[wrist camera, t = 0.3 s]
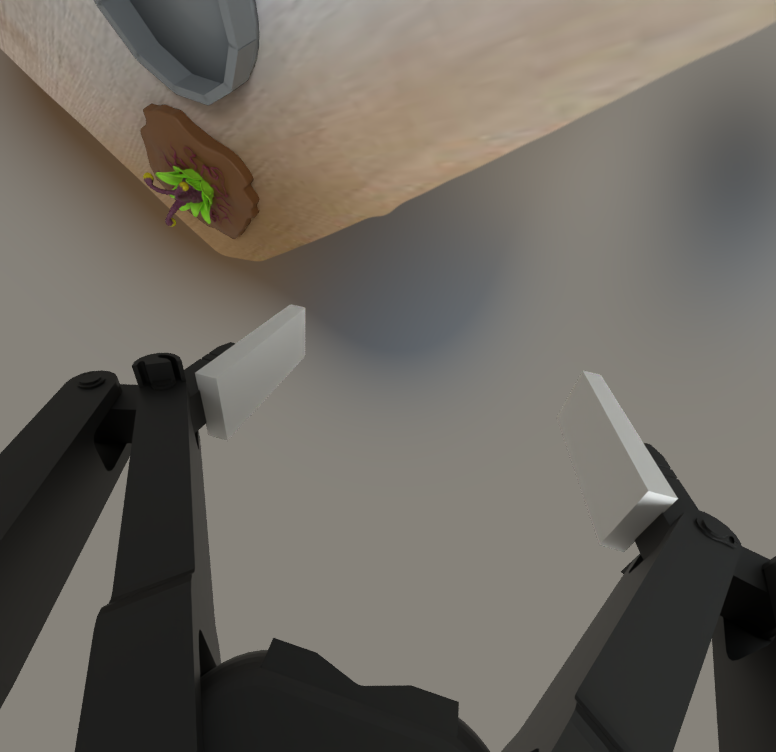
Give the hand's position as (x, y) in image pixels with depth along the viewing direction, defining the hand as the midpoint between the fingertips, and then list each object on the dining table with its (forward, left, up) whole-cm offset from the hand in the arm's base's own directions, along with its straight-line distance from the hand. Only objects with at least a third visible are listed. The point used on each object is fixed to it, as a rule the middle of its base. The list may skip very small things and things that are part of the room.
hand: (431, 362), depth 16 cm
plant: (-2, -55, -34) cm, 64 cm away
